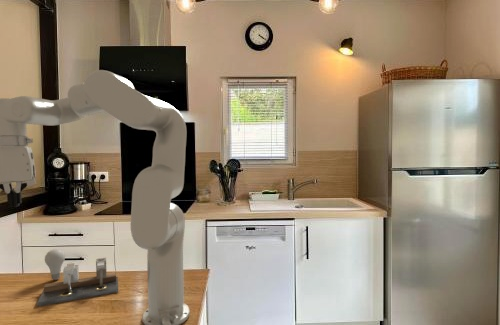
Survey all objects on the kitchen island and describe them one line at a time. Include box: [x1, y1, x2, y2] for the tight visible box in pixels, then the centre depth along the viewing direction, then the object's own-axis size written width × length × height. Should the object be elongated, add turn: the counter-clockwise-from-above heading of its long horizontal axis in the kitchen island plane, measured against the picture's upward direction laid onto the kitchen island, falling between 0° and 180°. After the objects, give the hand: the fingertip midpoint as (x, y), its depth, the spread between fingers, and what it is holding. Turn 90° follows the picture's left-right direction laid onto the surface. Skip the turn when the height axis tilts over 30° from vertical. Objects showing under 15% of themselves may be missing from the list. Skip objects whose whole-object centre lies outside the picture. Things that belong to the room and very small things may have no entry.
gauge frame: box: [43, 257, 117, 292], centre depth 102 cm, size 7×21×8 cm, turn 114°
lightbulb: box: [44, 248, 66, 281], centre depth 110 cm, size 6×6×11 cm
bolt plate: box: [37, 276, 119, 307], centre depth 101 cm, size 10×22×1 cm, turn 114°
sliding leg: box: [62, 262, 80, 292], centre depth 101 cm, size 7×4×7 cm, turn 24°
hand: (15, 206), depth 90 cm, fingers closed
